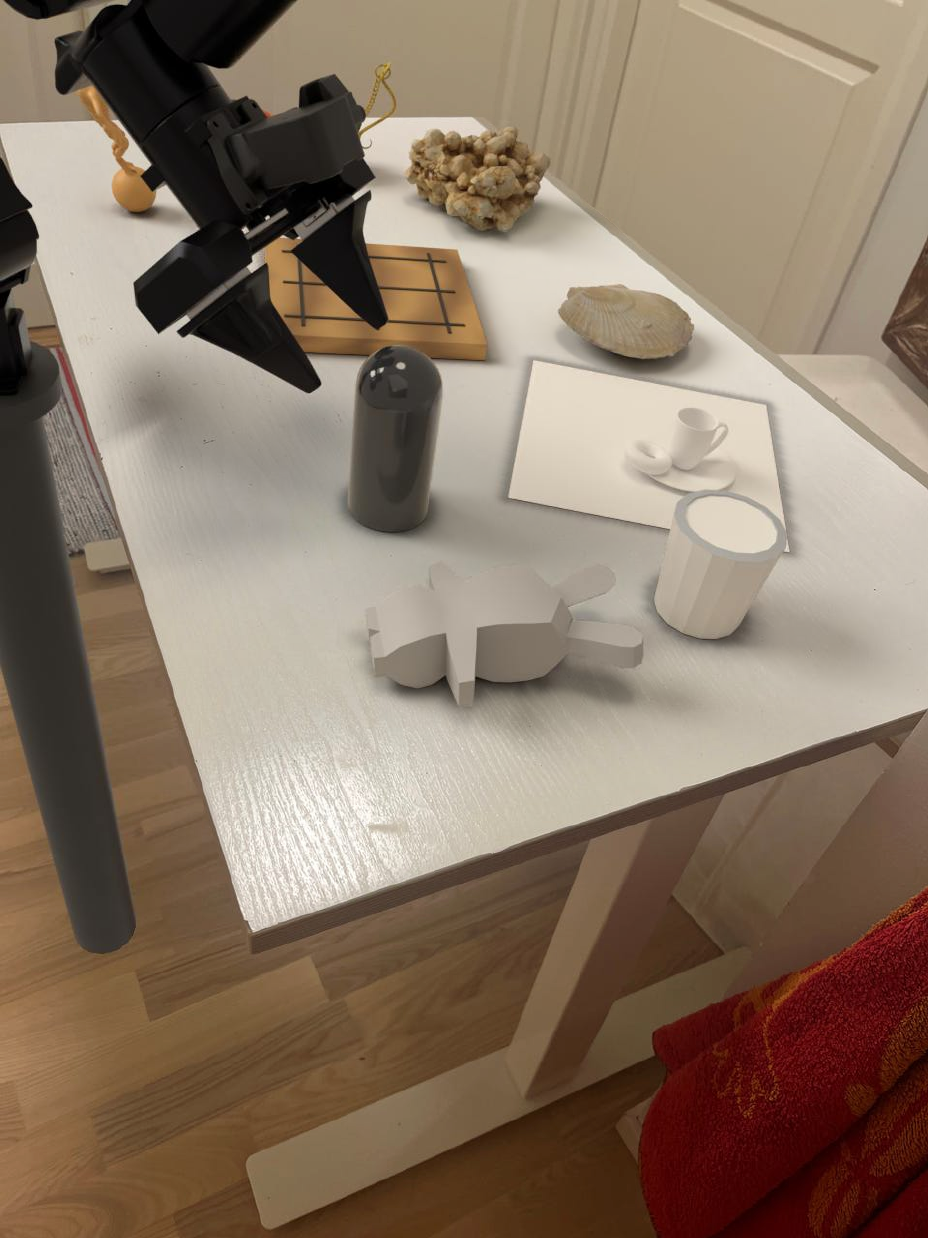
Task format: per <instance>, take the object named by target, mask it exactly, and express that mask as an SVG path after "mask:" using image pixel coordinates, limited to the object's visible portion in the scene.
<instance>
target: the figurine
mask: <svg viewBox="0 0 928 1238" xmlns="http://www.w3.org/2000/svg"><path fill="white" fill-rule="evenodd" d="M76 94H77V97H78V99H79V100H80V102H81V104H82V105H83V107H85V109H86V110H87V111H88V112H89V113H90V114H91V117H93V120H94V122H96V123H97V124H98V125H99V127H100V128H102V130H103V132H104V133H105V134H106V136H107V137H108V138H109V139H111V140H112V141H113V142H112V144H111V149H112V155H113V156H114V160H115V161H116V163H117V164H118V166H120V167H121V168H120V169H118V170H117V171H116V173H115V174H114V176H113V178H112V182H111V192H112V195H113V198H114V199H115V201H116V202H117V203H118V205H119V206H120V207H122V208H123V209H125V210H127V211H129V212H132V213H140V212H144V211H146V210H149V208H151V207H152V205H153V204H154V203H155V201H156V197H157V190H156V191H154V192H152V191H151V190H150V189H149V187H148V186H147V185H146V183H145V182H144V181H143V179H142V178H141V177H140V176H141V175H142V174H143V173H144V172H145V171H146V170H145V169H144V168H143V167H139V166H136V165H134V163H132V162H130V161H126V160H125V159H124V158H123V156H124V154H126V151H127V150H128V149H129V147H130V141H129V139H128V137H126V133H125V131H123V129H121V128H120V127H119V126H118V125H117V124H116V122H114V121H113V120H112V119H111V114H110V108H109V107H108V105H107V104H106V103H105V101H104V100H103V99H102V97H101V96H100V95H99V93H98V92H97V90H96V89H95V88H94V86H93V85H91V86H88V87H86V88H83V89H80V90H78V91H76Z"/></svg>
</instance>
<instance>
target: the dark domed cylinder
mask: <svg viewBox="0 0 928 1238" xmlns="http://www.w3.org/2000/svg"><path fill="white" fill-rule="evenodd" d="M443 400H444V382H443V378H442V375H441V373H440V370H439V368H438V366H437V364H436V363H435V362H434V361H433V360H432V358H430V357H428V356H427V355H426V354H425V353H423V352H422V351H420V350H418V349H416V348H414V347H411V346H407V345H391V346H386V347H383V348H381V349H379V350H377V351H375V352H374V353H373V354H371V355H368V357H367V358H366V359H365V360H364V362H363V363H361V366H360V367H359V370H358V372H357V375H356V378H355V384H354V398H353V411H352V413H353V414H352V427H351V444H350V459H349V460H350V461H349V473H348V475H349V476H348V487H347V489H348V490H347V509H348V511H349V513H350V515H351V516H352V517H353V519H354V520H355V521H357V522H358V523H359V524H360V525H362V526H364V527H367V528H369V529H372V530H375V531H378V532H379V531H380V532H385V533H399V532H405V531H407V530H411V529H414V528H416V527H417V526H420V525H421V523H423V521H425V519H426V517H427V515H428V510H429V504H430V503H429V502H430V495H431V488H432V482H433V481H432V480H433V474H434V466H435V459H436V458H435V457H436V451H437V445H438V444H437V443H438V436H439V428H440V423H441V422H440V420H441V416H442V415H441V413H442V407H443Z"/></svg>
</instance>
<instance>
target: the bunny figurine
mask: <svg viewBox="0 0 928 1238" xmlns="http://www.w3.org/2000/svg"><path fill="white" fill-rule="evenodd" d="M616 582H617V577H616V573H615V572H614V571H613V570H612V569H611V568H610V567H609V566H607V565H604V564H600V563H595V564H593V565H589V566H587V567H585V568H583V569H582V570H580V571H577V573H575V574H573V575H571V576H570V577H568V578H565V579H564V580H562V581H561V582H559V583H558V584H555V585H554V586H551V585H550V584H549V583H548V582H547V581H546V580H545V579H544V578H543V576H541V575H540V573H538V572H537V571H536V570H535V569H534V568H533V566H531V565H530V564H510V565H502V566H495V567H492V568H489V569H485V570H481V571H479V572H478V573H476V574H474V575H473V576H471V577H469V578H468V579H466V580H464V581H463V579H461V578H460V577H459V576H458V575H456V573H455V572H453V570H451V568H449V567H448V566H447V565H446V564H445V563H444V562H443V561H439V562H436V563H433V564H429V565H428V587H426V586H422V585H418V584H415V585H405V586H402V587H400V588H398V589H396V590H394V591H393V592H391V593H389V594H388V595H387V596H386V597H385V598H383V599H382V600H381V601H380V602H379V603H378V604H377V605H376V606H373V607H366V608H364V616H365V627H366V633H367V638H368V644H369V648H370V651H371V652H370V656H371V662H372V667H373V673H374V678H377V677H388V678H389V679H390V680H393V681H394V682H396V683H398V684H400V685H401V686H405V687H409V688H413V689H421V688H425V687H429V686H432V685H433V684H435V683H437V682H438V681H439V680H441V679H442V678H444V677H445V678H446V680H447V683H448V685H449V687H450V690H451V692H452V695H453V697H454V700H455V702H456V704H457V707H465V708H468V707H469V708H473V707H474V703H475V702H474V701H475V691H476V690H475V689H476V677H477V678H479V679H482V680H486V681H489V682H492V683H517V682H526V681H530V680H534V679H538V678H542V677H545V676H546V675H547V674H549V672H550V671H552V669H554V668H555V667H556V666H557V665H558V664H559V663H560V662H561V661H562V660H563V659H564V658H565V657H567V655H568V654H570V655H575V656H578V657H581V658H584V659H588V660H591V661H594V662H598V663H602V664H605V665H608V666H612V667H616V668H618V669H635V668H637V667H638V666H639V665H642V663H643V659H644V635H643V634H642V633H641V631H639V630H638V629H637V628H636V627H635V626H630V625H627V624H622V623H620V624H619V623H611V622H600V621H587V620H577V619H574V616H573V614H572V612H571V611H570V609H569V607H572V606H574V605H577V604H581V603H583V602H586V601H589V600H591V599H595V598H596V597H599V596H602V595H604V594H607V593H608V592H609V593H610V591H611V590H613V588H614V587H615V586H616Z"/></svg>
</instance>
